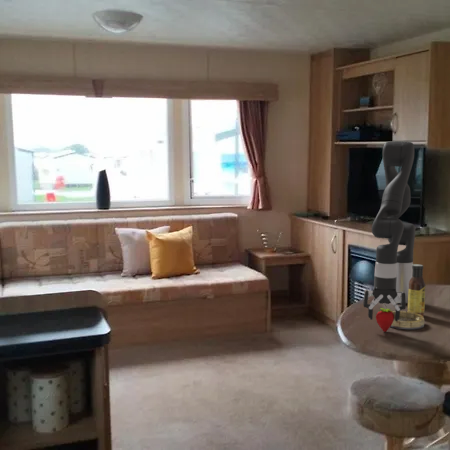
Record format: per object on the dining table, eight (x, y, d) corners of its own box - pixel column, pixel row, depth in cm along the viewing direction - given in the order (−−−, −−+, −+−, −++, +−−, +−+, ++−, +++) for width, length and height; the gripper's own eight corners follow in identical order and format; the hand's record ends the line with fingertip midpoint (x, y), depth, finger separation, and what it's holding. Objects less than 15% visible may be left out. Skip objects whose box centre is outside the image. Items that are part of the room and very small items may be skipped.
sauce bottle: (425, 318, 224) (427, 267, 221) (408, 317, 225) (410, 266, 223) (422, 313, 231) (425, 263, 228) (406, 312, 232) (408, 263, 229)
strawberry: (371, 332, 208) (372, 304, 206) (383, 327, 213) (384, 300, 211) (385, 336, 203) (387, 308, 202) (397, 331, 208) (398, 304, 207)
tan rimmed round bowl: (380, 316, 226) (381, 309, 226) (420, 318, 223) (421, 311, 223) (384, 328, 212) (384, 321, 211) (426, 331, 209) (427, 323, 208)
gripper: (405, 273, 207) (403, 318, 210) (364, 271, 210) (362, 315, 212) (408, 278, 200) (405, 324, 202) (365, 276, 203) (363, 321, 205)
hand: (383, 319), depth 207 cm, fingers open, 8 cm apart
